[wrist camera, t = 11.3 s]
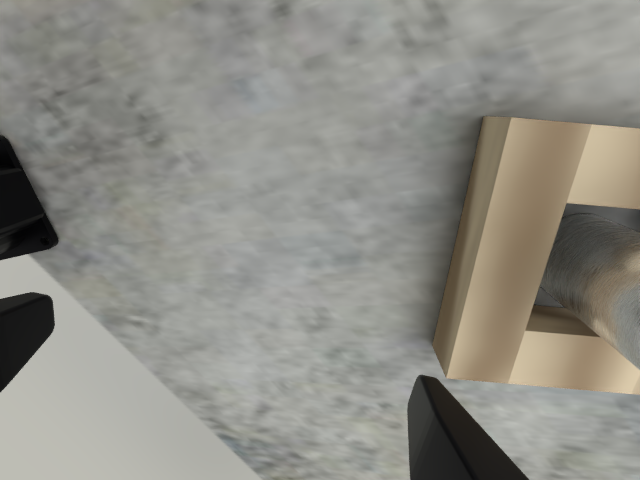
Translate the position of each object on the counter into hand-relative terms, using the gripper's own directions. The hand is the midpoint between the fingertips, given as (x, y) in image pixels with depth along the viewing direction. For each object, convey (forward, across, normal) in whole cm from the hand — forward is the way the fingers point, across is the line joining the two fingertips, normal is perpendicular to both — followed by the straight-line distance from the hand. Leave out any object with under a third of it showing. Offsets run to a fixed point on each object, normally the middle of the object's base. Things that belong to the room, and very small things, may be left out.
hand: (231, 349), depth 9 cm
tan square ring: (+14, -16, 0) cm, 21 cm away
